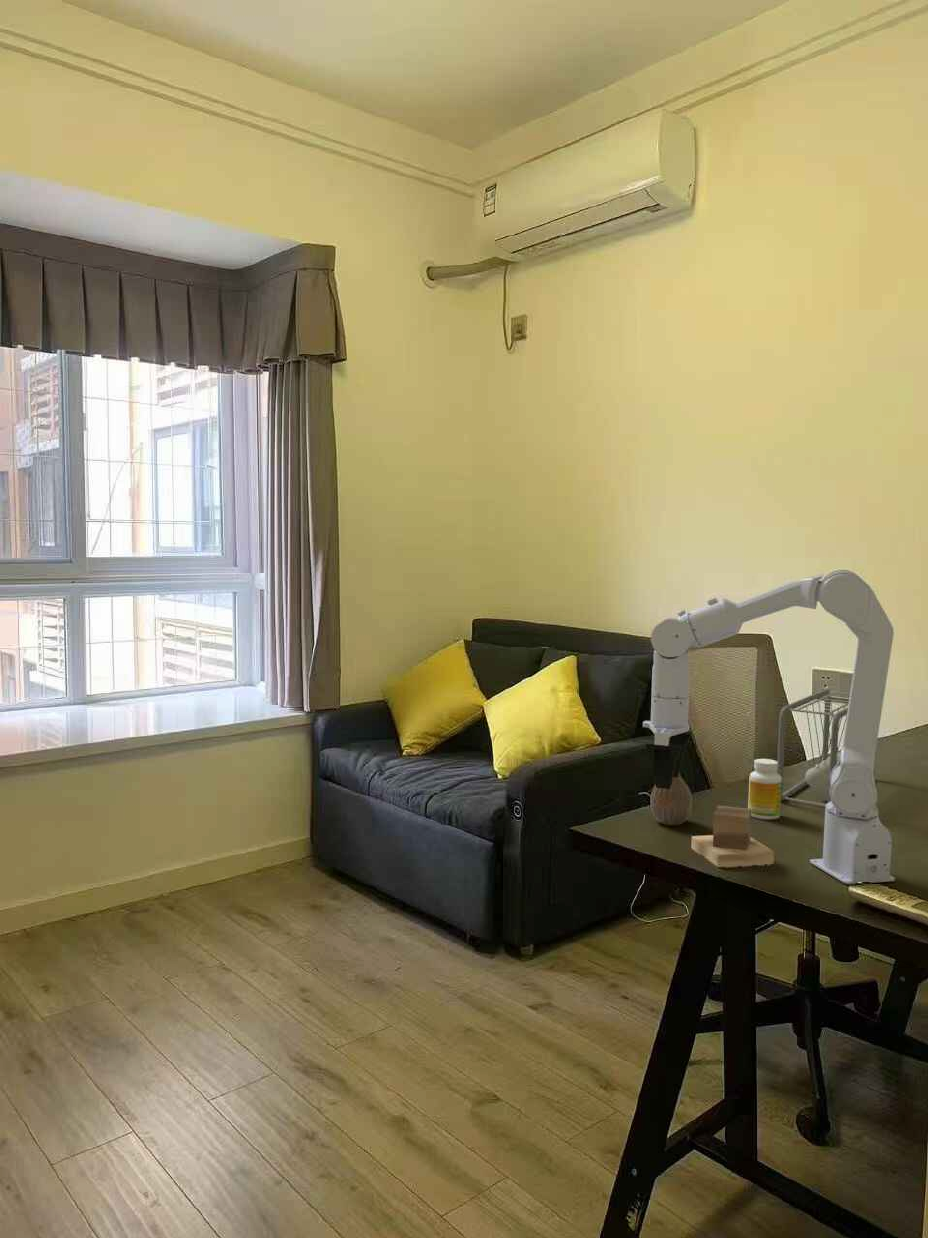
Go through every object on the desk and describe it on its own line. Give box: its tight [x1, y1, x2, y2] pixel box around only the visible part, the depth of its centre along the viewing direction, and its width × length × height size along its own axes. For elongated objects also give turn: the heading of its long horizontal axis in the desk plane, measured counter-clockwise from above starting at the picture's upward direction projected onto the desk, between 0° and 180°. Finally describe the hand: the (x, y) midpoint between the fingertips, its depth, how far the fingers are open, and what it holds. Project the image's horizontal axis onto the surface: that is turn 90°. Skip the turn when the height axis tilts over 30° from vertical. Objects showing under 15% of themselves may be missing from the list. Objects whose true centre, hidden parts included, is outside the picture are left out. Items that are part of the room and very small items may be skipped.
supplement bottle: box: [747, 758, 782, 820], centre depth 172 cm, size 5×5×10 cm
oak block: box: [691, 834, 775, 868], centre depth 150 cm, size 9×9×2 cm
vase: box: [649, 772, 693, 826], centre depth 167 cm, size 7×7×9 cm
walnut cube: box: [712, 805, 752, 850], centre depth 150 cm, size 5×5×5 cm
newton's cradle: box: [776, 688, 877, 807], centre depth 189 cm, size 30×10×18 cm, turn 144°
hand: (667, 782), depth 153 cm, fingers open, 7 cm apart
